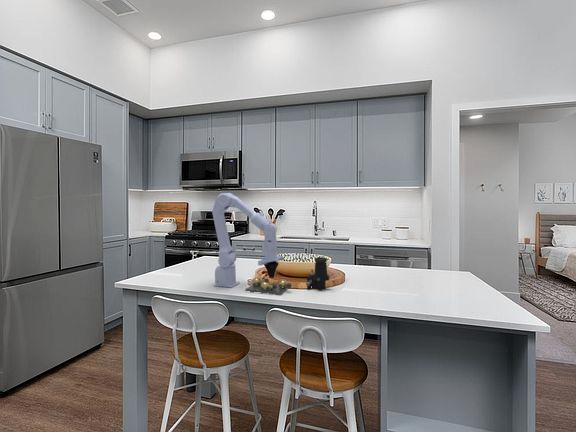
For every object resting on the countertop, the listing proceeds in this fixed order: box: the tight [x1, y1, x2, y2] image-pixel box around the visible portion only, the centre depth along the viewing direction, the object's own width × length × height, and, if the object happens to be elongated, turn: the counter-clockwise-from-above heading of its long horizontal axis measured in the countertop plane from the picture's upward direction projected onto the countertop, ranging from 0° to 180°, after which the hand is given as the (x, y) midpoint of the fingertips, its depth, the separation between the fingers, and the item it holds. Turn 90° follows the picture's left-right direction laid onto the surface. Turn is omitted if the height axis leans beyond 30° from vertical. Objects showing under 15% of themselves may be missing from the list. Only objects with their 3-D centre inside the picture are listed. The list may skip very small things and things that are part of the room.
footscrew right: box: [261, 281, 278, 290], centre depth 145 cm, size 7×4×2 cm, turn 69°
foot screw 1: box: [252, 277, 269, 285], centre depth 152 cm, size 7×4×2 cm, turn 80°
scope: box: [305, 256, 331, 291], centre depth 149 cm, size 8×14×10 cm
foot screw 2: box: [278, 279, 292, 289], centre depth 147 cm, size 7×4×2 cm, turn 40°
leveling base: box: [245, 282, 290, 296], centre depth 149 cm, size 17×11×2 cm, turn 70°
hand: (271, 277), depth 155 cm, fingers closed
